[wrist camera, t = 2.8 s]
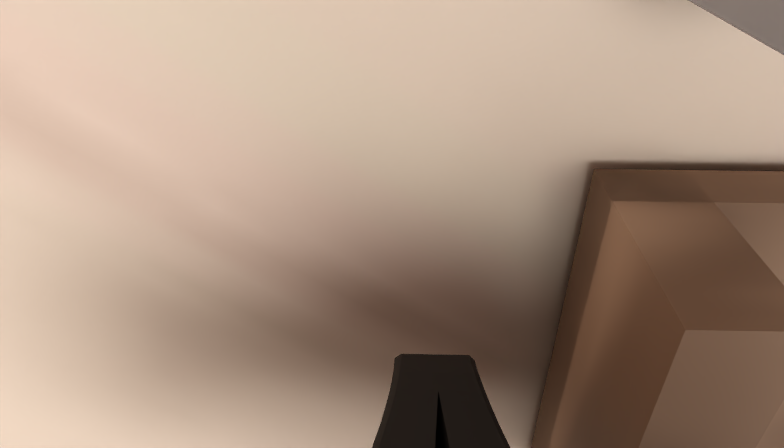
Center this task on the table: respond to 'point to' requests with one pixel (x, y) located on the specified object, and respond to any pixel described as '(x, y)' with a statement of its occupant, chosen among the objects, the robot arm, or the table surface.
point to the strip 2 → (751, 18)
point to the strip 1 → (672, 315)
